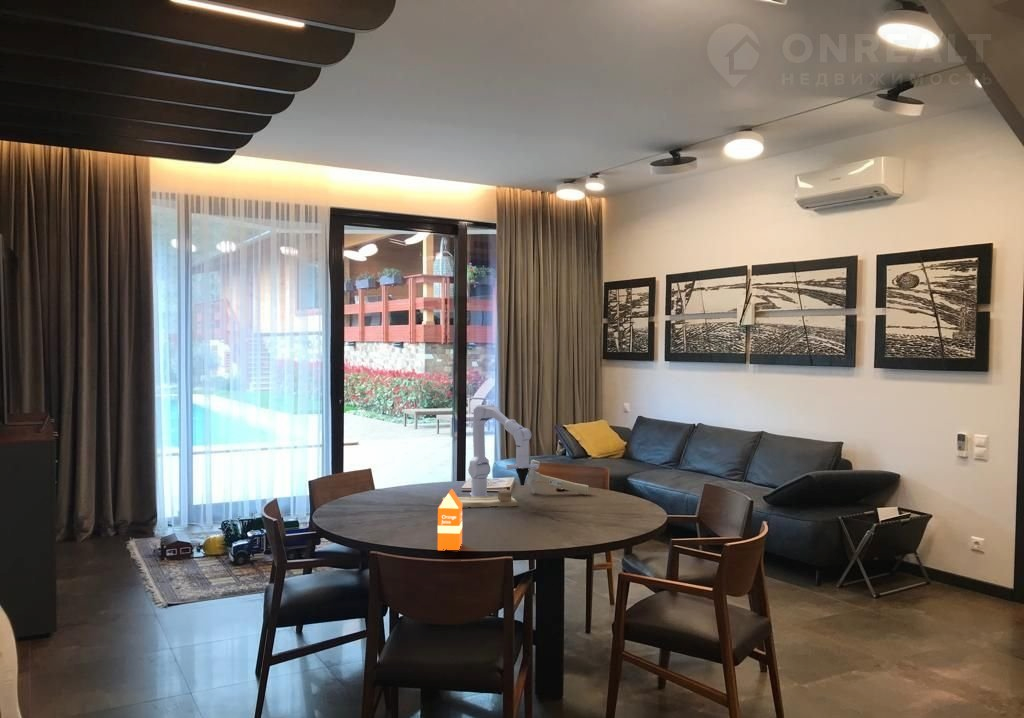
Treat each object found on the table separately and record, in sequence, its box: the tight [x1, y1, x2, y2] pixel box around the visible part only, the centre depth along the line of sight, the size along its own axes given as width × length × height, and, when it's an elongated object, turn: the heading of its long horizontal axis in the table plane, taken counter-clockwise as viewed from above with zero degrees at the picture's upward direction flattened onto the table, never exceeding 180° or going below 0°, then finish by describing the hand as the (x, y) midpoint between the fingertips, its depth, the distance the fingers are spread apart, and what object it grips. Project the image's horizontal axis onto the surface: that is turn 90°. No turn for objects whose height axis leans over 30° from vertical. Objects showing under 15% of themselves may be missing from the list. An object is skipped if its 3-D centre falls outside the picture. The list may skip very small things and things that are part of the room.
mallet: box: [497, 488, 512, 501], centre depth 320 cm, size 10×5×4 cm, turn 12°
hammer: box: [526, 459, 590, 496], centre depth 344 cm, size 16×5×30 cm
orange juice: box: [437, 488, 463, 551], centre depth 247 cm, size 8×9×20 cm
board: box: [441, 495, 518, 509], centre depth 319 cm, size 14×32×2 cm, turn 102°
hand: (522, 485), depth 319 cm, fingers closed
